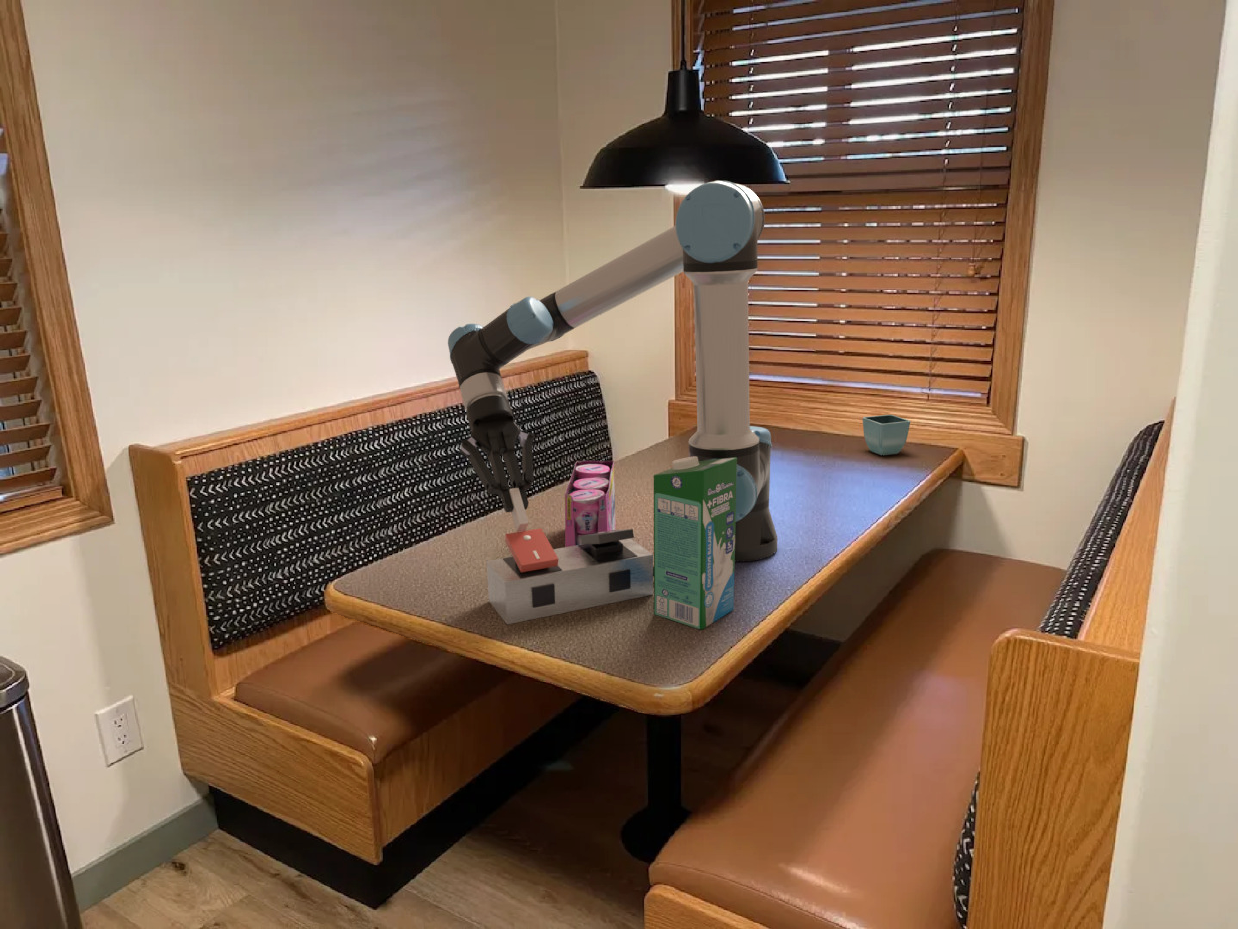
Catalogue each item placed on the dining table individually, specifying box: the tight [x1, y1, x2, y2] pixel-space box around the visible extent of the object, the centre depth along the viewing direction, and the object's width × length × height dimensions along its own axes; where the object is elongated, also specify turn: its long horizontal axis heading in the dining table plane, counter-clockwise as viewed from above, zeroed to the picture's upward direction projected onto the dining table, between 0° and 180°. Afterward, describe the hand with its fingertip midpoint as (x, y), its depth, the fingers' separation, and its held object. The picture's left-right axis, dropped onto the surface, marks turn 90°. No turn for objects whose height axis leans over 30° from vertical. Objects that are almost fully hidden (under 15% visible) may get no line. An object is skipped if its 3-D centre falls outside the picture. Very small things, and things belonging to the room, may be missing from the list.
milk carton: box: [653, 456, 737, 631], centre depth 137 cm, size 9×9×25 cm
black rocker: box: [581, 528, 635, 544], centre depth 147 cm, size 6×8×2 cm
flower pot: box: [862, 414, 911, 456], centre depth 230 cm, size 9×9×9 cm
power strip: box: [486, 538, 654, 625], centre depth 147 cm, size 32×10×8 cm, turn 115°
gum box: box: [564, 460, 617, 547], centre depth 167 cm, size 24×8×14 cm, turn 177°
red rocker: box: [504, 527, 558, 572], centre depth 141 cm, size 6×8×2 cm
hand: (522, 527), depth 144 cm, fingers closed
